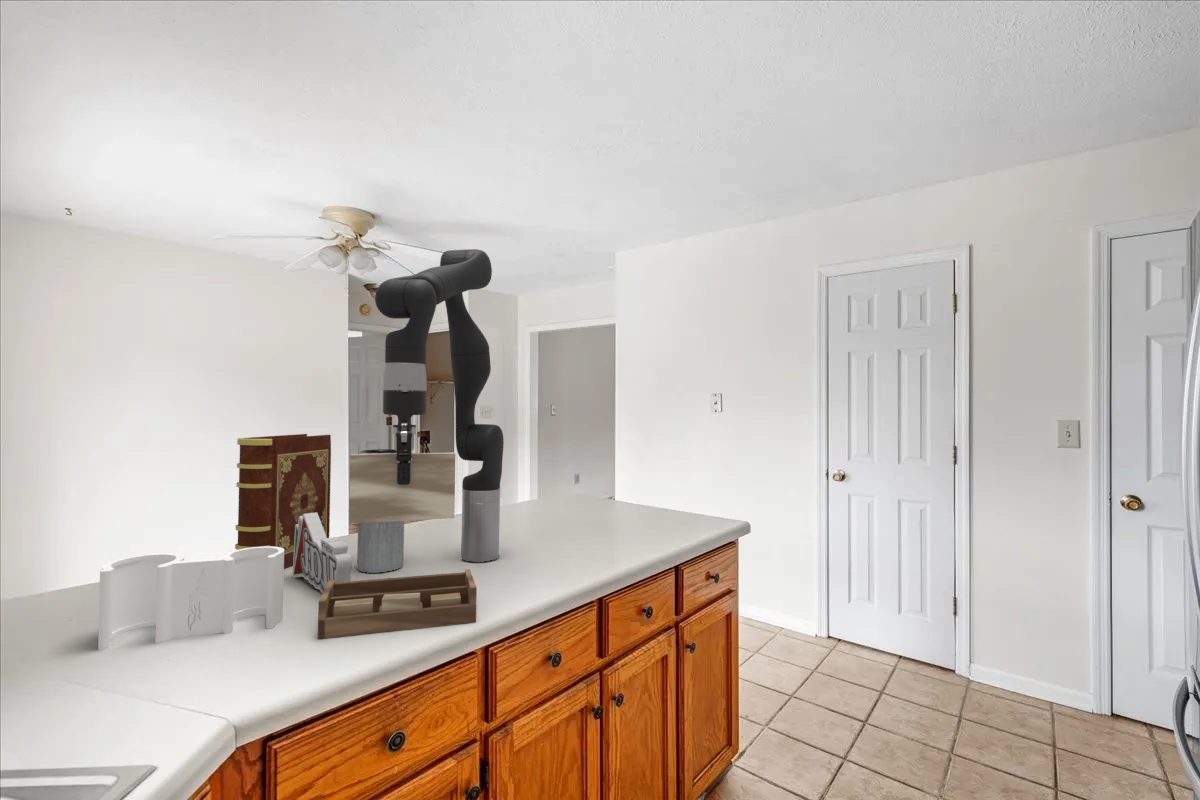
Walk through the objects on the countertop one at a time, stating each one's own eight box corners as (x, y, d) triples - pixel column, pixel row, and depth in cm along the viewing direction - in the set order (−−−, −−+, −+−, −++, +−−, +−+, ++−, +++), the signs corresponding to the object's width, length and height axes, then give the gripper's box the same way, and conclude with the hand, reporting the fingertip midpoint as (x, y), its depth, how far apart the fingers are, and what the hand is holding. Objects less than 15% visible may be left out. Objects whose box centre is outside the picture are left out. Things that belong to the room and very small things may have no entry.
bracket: (286, 609, 103) (288, 543, 103) (278, 629, 94) (279, 557, 94) (116, 628, 93) (118, 555, 93) (89, 652, 84) (91, 571, 84)
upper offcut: (384, 605, 97) (384, 594, 97) (420, 604, 98) (420, 592, 99) (381, 611, 95) (381, 599, 95) (418, 609, 96) (418, 597, 96)
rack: (328, 613, 101) (328, 580, 101) (469, 600, 109) (469, 569, 109) (317, 639, 90) (318, 601, 90) (475, 622, 98) (476, 587, 98)
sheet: (350, 520, 100) (351, 454, 100) (453, 515, 106) (454, 452, 106) (348, 523, 98) (349, 455, 98) (454, 518, 104) (455, 453, 104)
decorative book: (259, 578, 120) (262, 439, 120) (228, 575, 122) (231, 438, 122) (329, 552, 142) (332, 434, 142) (302, 549, 144) (305, 433, 144)
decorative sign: (349, 611, 108) (354, 535, 107) (334, 615, 106) (339, 537, 105) (305, 574, 124) (309, 507, 123) (292, 576, 122) (296, 509, 121)
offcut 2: (430, 617, 100) (430, 595, 100) (459, 614, 101) (459, 592, 101) (430, 623, 97) (431, 600, 97) (460, 620, 99) (460, 597, 99)
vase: (408, 569, 128) (410, 451, 128) (362, 576, 123) (364, 453, 123) (397, 559, 136) (399, 448, 137) (353, 565, 131) (355, 450, 131)
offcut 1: (335, 627, 95) (335, 601, 95) (373, 623, 97) (373, 597, 97) (333, 634, 92) (333, 606, 92) (372, 629, 94) (372, 603, 94)
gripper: (384, 389, 108) (383, 478, 107) (381, 387, 94) (379, 489, 94) (425, 389, 110) (424, 477, 110) (427, 388, 97) (426, 488, 97)
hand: (403, 482), depth 102 cm, fingers closed on sheet, 2 cm apart
